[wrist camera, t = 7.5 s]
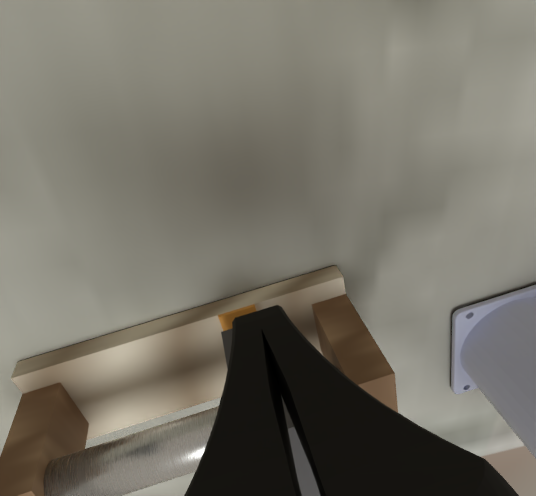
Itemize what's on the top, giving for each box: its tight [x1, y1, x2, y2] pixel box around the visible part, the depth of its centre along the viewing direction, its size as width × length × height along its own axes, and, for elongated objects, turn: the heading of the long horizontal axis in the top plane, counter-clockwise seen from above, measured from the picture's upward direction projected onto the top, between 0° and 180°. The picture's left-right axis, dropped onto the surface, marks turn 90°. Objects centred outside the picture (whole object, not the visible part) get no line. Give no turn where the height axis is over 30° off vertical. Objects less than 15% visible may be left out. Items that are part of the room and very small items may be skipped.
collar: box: [221, 329, 320, 496], centre depth 21 cm, size 2×6×6 cm, turn 13°
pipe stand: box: [0, 265, 398, 496], centre depth 22 cm, size 18×6×7 cm, turn 103°
